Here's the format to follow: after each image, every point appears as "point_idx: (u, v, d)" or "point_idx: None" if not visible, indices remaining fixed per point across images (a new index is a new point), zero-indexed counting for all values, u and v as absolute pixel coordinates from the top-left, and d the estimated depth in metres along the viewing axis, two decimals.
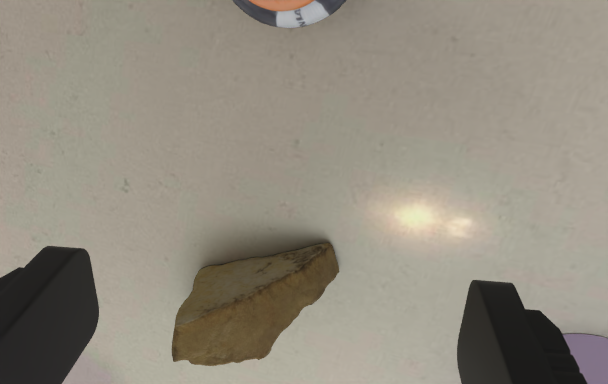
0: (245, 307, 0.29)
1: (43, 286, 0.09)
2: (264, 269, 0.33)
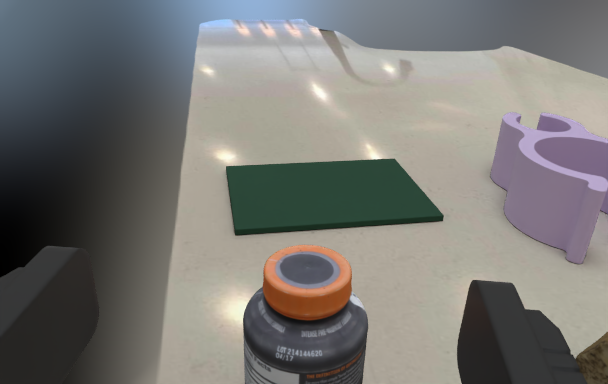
0: None
1: (43, 286, 0.09)
2: None
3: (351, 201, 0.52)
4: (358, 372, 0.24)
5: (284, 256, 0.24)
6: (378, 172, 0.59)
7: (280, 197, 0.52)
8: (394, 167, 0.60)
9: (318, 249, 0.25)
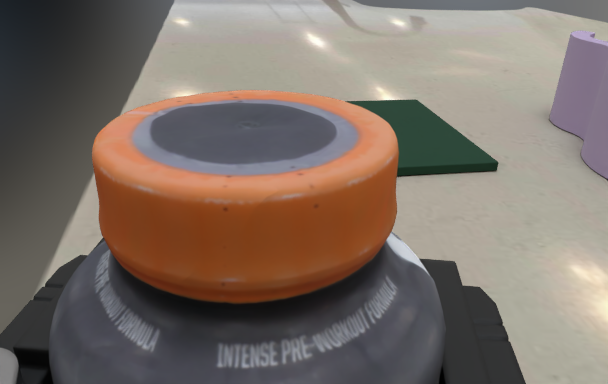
0: None
1: None
2: None
3: None
4: None
5: (178, 105, 0.08)
6: (396, 113, 0.42)
7: None
8: (417, 108, 0.44)
9: (289, 96, 0.08)
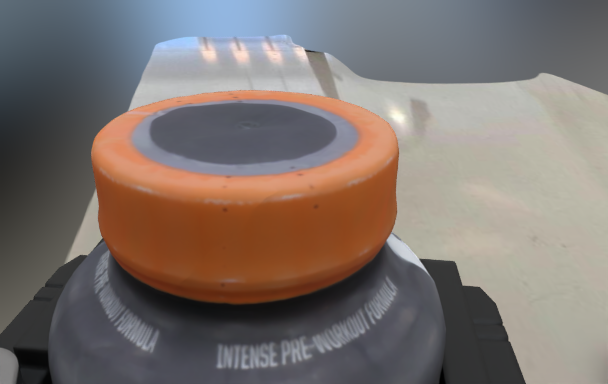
0: None
1: None
2: None
3: None
4: None
5: (178, 105, 0.08)
6: None
7: None
8: None
9: (289, 96, 0.08)
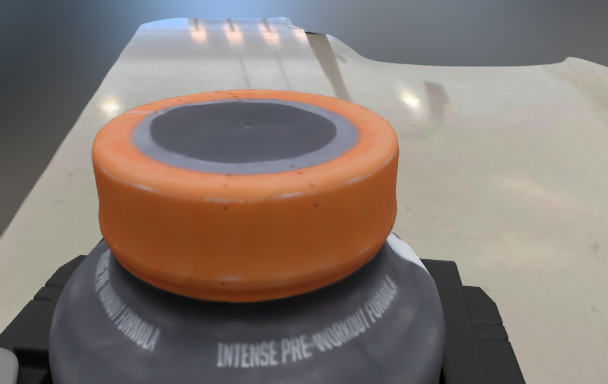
0: None
1: None
2: None
3: None
4: None
5: (178, 105, 0.08)
6: None
7: None
8: None
9: (289, 95, 0.08)
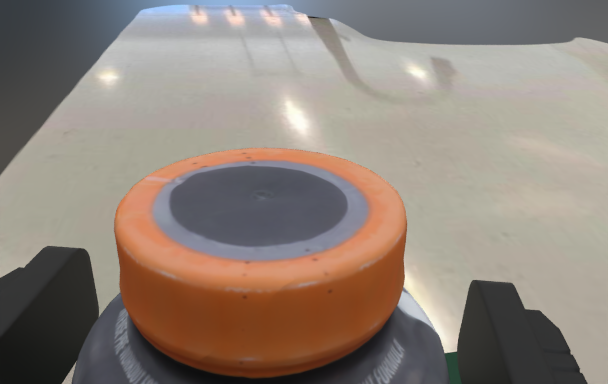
0: None
1: (43, 286, 0.09)
2: None
3: None
4: None
5: (194, 169, 0.08)
6: None
7: None
8: None
9: (300, 156, 0.09)
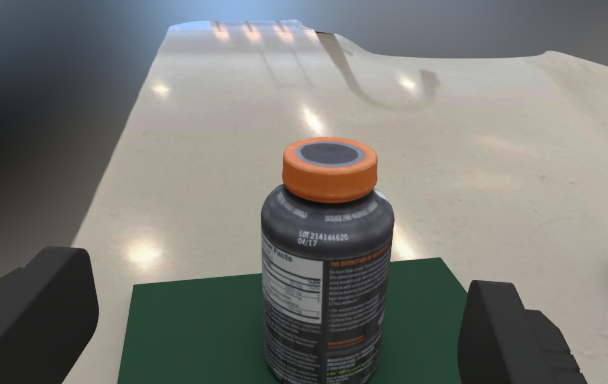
0: None
1: (43, 286, 0.09)
2: None
3: None
4: (384, 268, 0.23)
5: (304, 144, 0.23)
6: (415, 294, 0.32)
7: (222, 377, 0.25)
8: (443, 280, 0.33)
9: (340, 139, 0.23)
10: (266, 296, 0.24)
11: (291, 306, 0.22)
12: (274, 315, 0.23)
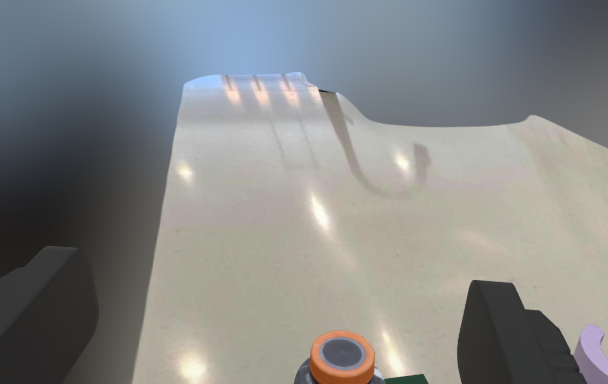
0: None
1: (43, 286, 0.09)
2: None
3: None
4: None
5: (324, 341, 0.33)
6: None
7: None
8: None
9: (349, 334, 0.34)
10: None
11: None
12: None
